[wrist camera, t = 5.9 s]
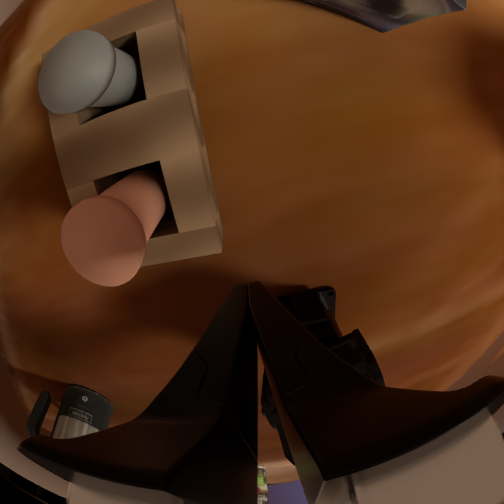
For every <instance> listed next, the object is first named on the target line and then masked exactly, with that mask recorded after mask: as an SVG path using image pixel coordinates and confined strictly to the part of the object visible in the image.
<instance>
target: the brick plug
mask: <svg viewBox="0 0 504 504" xmlns="http://www.w3.org/2000/svg"><path fill="white" fill-rule="evenodd" d="M169 203H170V199H169V195H168V191H167V187H166V183H165V180H164V179H163V178H162V177H161V176H160V175H159V174H157V173H156V172H154V171H151V170H144V169H143V170H137V171H134V172H132V173H131V174H129V175H127V176H126V177H124V178H123V179H121V180H120V181H118V182H117V183H116V184H114V185H113V186H111V187H110V188H108V189H107V190H105V191H104V192H103V193H101V194H100V195H94V196H90V197H88V198H85V199H84V200H82V201H81V202H79V203H78V204H76V205H75V206H74V207H73V208H71V209H70V210H69V212H68V213H67V214H66V216H65V218H64V220H63V223H62V227H61V242H62V247H63V250H64V253H65V255H66V257H67V259H68V261H69V262H70V264H71V265H72V267H73V268H74V269H75V270H76V271H77V272H78V273H79V274H80V275H81V276H83V277H84V278H85V279H87V280H89V281H91V282H93V283H95V284H98V285H102V286H118V285H122V284H124V283H126V282H128V281H129V280H131V279H132V278H133V277H134V276H135V274H136V273H137V271H138V270H139V268H140V266H141V264H142V262H143V259H144V257H145V253H146V243H147V241H148V240H149V238H150V236H151V235H152V233H153V231H154V230H155V228H156V226H157V225H158V223H159V221H160V220H161V218H162V217H163V215H164V213H165V212H166V210H167V208H168V206H169Z"/></svg>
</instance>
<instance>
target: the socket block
mask: <svg viewBox="0 0 504 504" xmlns="http://www.w3.org/2000/svg"><path fill="white" fill-rule="evenodd" d="M84 30H91V31H95V32H97V33H99V34H101V35H103V36H105V37H106V38H108V39H109V40H110V41H111V43H112V44H113V46H114V47H115V48H117V49H119V50H121V51H123V52H125V53H127V54H128V53H130V52H133V51H136V50H139V57H140V63H141V70H142V76H143V81H144V87H145V93H146V98H147V99H146V100H143V101H140V102H137V103H134V104H131V105H128V106H126V107H123V108H120V109H118V110H115V111H112V112H110V113H107V114H105V115H103V112H102V107H89V108H87V109H85V110H83V111H81V112H77V113H70V114H56V113H53V112H51V111H50V110H48V109H47V111H48V117H49V122H50V128H51V133H52V137H53V142H54V146H55V151H56V155H57V159H58V163H59V166H60V170H61V174H62V177H63V181H64V184H65V187H66V191H67V194H68V197H69V200H70V203H71V206H72V208H73V207H74V206H75V205H76V204H78V203H79V202H81V201H82V200H84V199H85V198H88V197H90V196H94V195H100V194H101V193H103V192H104V191H105V190H107V189H108V188H110V187H111V186H113V185H114V184H116V183H117V182H118V181H119V180H118V176H117V172H121V171H124V170H127V169H130V168H134V167H137V166H141V165H144V164H148V163H151V162H155V161H159V160H160V163H161V167H162V171H163V175H164V179H165V183H166V187H167V191H168V195H169V199H170V202H171V206H172V210H173V213H174V215H172V216H167V217H162V218H161V220H160V221H159V223H158V225H157V226H156V228H155V230H154V231H153V233H152V235H151V236H150V238H149V240H148V241H147V243H146V253H145V257H144V259H143V262H142V264H141V266H140V267H143V266H148V265H154V264H160V263H165V262H171V261H176V260H182V259H188V258H193V257H199V256H205V255H210V254H216V253H222V242H223V225H222V221H221V216H220V212H219V207H218V202H217V198H216V193H215V188H214V184H213V179H212V174H211V169H210V165H209V160H208V155H207V150H206V145H205V140H204V135H203V130H202V125H201V119H200V114H199V109H198V104H197V98H196V93H195V88H194V82H193V77H192V71H191V65H190V60H189V54H188V48H187V42H186V36H185V30H184V24H183V18H182V14H181V12H180V10H179V9H178V7H177V5H176V3H175V1H174V0H156V1H153V2H149V3H146V4H143V5H141V6H138V7H135V8H132V9H130V10H127V11H124V12H122V13H119V14H117V15H114V16H112V17H110V18H108V19H105V20H103V21H101V22H99V23H97V24H95V25H92V26H90V27H88V28H86V29H84ZM51 50H52V48H51V49H50V50H48V51H47V52H45V53H44V54H42V65H43V62H44V60H45V58H46V57H47V55H48V54H49V52H50V51H51Z"/></svg>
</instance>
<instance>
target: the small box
mask: <svg viewBox="0 0 504 504" xmlns="http://www.w3.org/2000/svg"><path fill="white" fill-rule="evenodd" d="M300 1H304V2H307V3H310V4H314V5H317V6H320V7H323V8H326V9H329V10H331V11H334V12H337V13H340V14H342V15H345V16H347V17H350V18H352V19H354V20H357V21H359V22H361V23H363V24H366V25H368V26H370V27H372V28H374V29H376V30H378V31H380V32H382V33H384V32H387V31H389V30H392V29H395V28H398V27H400V26H403V25H406V24H410V23H413V22H416V21H419V20H422V19H426V18H430V17H433V16H437V15H442V14H446V13H451V12H455V11H461V10H466V0H300Z"/></svg>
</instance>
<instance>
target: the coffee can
mask: <svg viewBox="0 0 504 504" xmlns="http://www.w3.org/2000/svg"><path fill="white" fill-rule="evenodd" d="M257 504H269V501H268V492H267V482H266V473H265V467H263V466H259V465H258V484H257Z"/></svg>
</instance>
